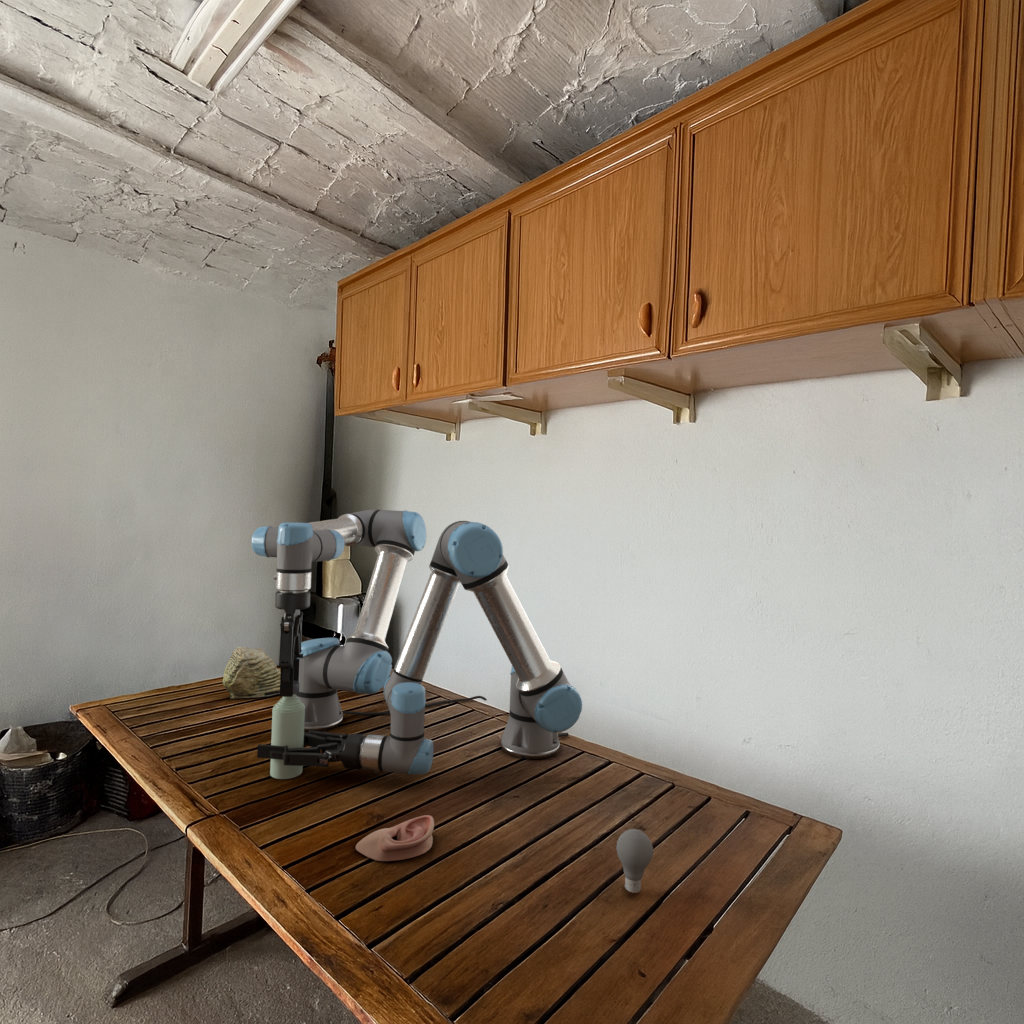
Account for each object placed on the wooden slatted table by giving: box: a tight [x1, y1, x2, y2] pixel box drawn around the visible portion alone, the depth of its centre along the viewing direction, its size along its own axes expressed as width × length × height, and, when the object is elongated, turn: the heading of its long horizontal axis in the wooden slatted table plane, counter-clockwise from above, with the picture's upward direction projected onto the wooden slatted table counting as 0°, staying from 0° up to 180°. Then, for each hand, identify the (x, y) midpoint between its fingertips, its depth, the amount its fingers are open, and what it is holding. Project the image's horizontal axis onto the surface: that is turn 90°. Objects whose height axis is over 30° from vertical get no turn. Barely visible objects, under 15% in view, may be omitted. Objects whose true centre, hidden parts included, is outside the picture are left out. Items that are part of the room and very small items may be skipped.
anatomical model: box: [355, 814, 435, 862], centre depth 116 cm, size 13×4×12 cm
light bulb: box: [615, 828, 654, 894], centre depth 106 cm, size 6×6×10 cm
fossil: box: [222, 646, 281, 699], centre depth 198 cm, size 9×18×15 cm, turn 132°
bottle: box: [269, 694, 305, 780], centre depth 144 cm, size 7×7×20 cm
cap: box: [293, 680, 299, 694], centre depth 144 cm, size 4×4×2 cm
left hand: (289, 691), depth 144 cm, fingers open, 6 cm apart
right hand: (266, 744), depth 145 cm, fingers closed on bottle, 7 cm apart
